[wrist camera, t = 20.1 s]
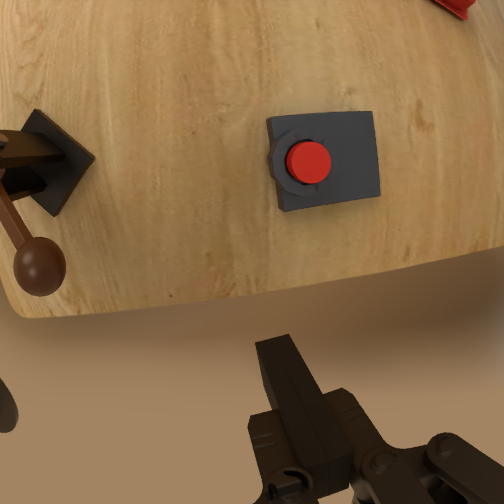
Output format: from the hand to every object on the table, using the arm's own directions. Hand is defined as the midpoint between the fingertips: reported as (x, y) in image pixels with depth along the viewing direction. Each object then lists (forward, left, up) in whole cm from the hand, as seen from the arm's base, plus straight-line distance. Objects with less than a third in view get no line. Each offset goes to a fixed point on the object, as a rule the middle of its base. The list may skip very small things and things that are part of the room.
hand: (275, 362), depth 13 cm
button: (+9, +7, -19) cm, 22 cm away
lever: (-15, +8, -10) cm, 20 cm away
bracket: (-19, +13, -22) cm, 32 cm away
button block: (+12, +7, -22) cm, 26 cm away
